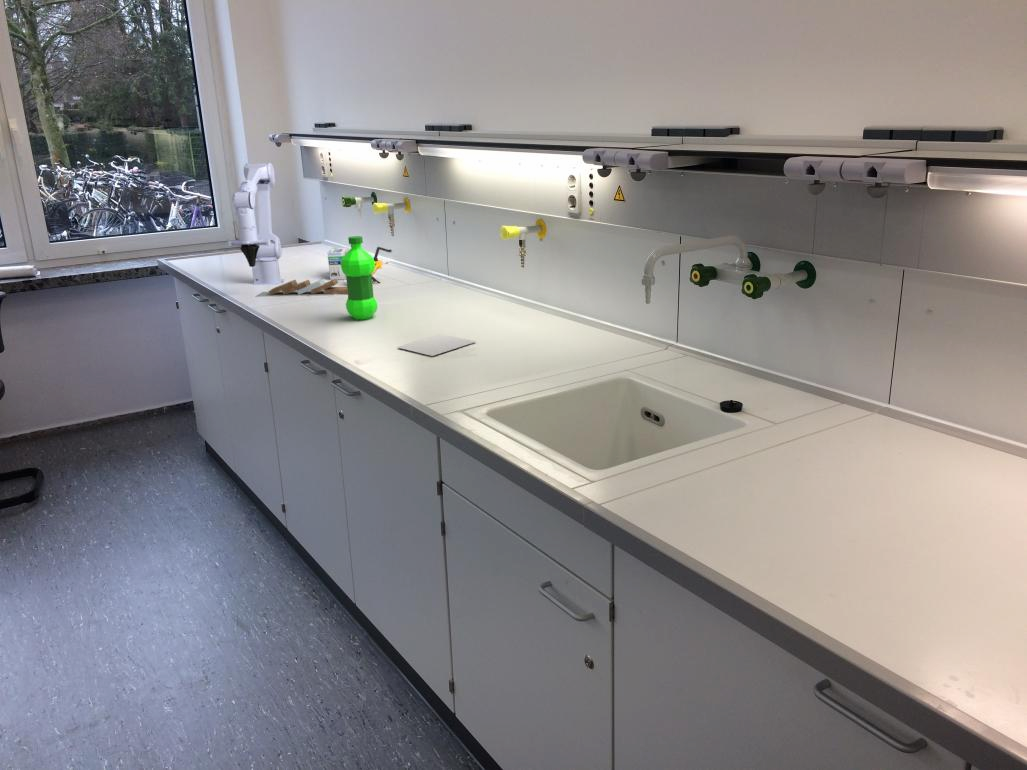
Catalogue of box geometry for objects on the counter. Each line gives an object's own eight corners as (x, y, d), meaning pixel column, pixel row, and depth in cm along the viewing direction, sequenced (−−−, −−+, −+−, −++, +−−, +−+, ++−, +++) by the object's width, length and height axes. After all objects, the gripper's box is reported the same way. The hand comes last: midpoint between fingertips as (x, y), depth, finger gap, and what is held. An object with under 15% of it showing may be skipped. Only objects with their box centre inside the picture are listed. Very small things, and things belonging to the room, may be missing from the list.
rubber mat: (255, 297, 295) (255, 296, 295) (262, 292, 302) (262, 291, 302) (333, 296, 293) (333, 295, 293) (339, 291, 300) (339, 290, 300)
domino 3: (310, 290, 295) (332, 281, 293) (314, 287, 299) (336, 278, 297) (312, 294, 295) (334, 285, 293) (316, 291, 300) (338, 282, 298)
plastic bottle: (347, 323, 256) (339, 240, 248) (345, 315, 266) (337, 235, 258) (380, 319, 259) (373, 238, 251) (376, 312, 268) (369, 233, 260)
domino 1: (268, 291, 296) (291, 282, 294) (273, 288, 300) (295, 279, 299) (270, 295, 296) (293, 286, 295) (275, 292, 301) (297, 283, 299)
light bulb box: (347, 279, 320) (344, 251, 317) (329, 280, 320) (326, 252, 317) (351, 274, 331) (348, 246, 327) (334, 275, 330) (331, 247, 327)
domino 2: (281, 290, 295) (304, 282, 294) (286, 288, 300) (308, 279, 298) (283, 295, 296) (306, 286, 294) (288, 292, 300) (310, 283, 299)
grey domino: (302, 291, 300) (325, 283, 298) (298, 294, 295) (321, 285, 294) (300, 287, 299) (323, 278, 298) (296, 290, 295) (319, 281, 293)
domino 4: (323, 289, 294) (348, 289, 293) (327, 287, 299) (352, 286, 298) (323, 294, 295) (349, 293, 294) (327, 291, 299) (352, 291, 298)
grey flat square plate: (502, 349, 225) (502, 347, 225) (434, 373, 207) (434, 370, 207) (441, 336, 240) (441, 333, 239) (373, 357, 222) (372, 354, 222)
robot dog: (397, 282, 313) (394, 246, 309) (351, 288, 305) (347, 251, 300) (391, 279, 318) (388, 244, 313) (345, 286, 309) (342, 249, 305)
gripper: (222, 229, 288) (227, 268, 292) (263, 228, 287) (268, 268, 291) (230, 226, 295) (235, 265, 299) (270, 225, 294) (275, 264, 298)
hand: (252, 266), depth 296 cm, fingers closed
